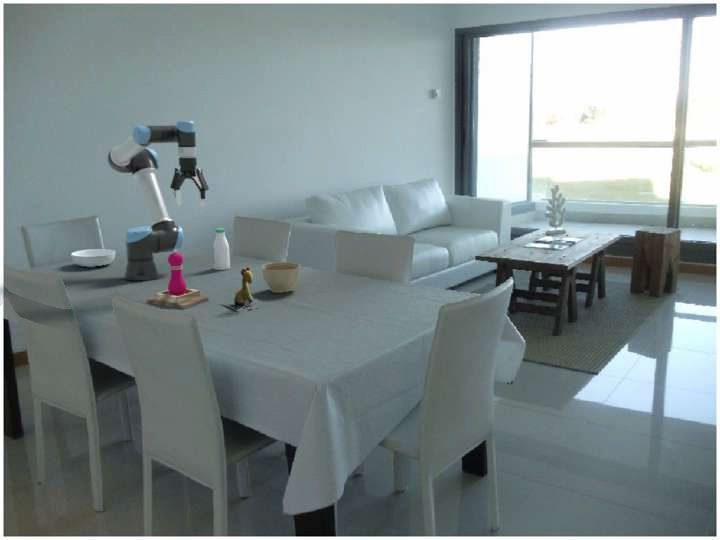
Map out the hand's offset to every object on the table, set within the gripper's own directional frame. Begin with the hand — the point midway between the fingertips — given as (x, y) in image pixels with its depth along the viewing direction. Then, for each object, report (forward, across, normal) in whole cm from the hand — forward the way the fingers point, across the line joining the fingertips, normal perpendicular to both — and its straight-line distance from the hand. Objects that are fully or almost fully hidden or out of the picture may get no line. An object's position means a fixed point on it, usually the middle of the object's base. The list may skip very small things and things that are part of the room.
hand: (190, 205), depth 300 cm
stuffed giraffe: (+35, +44, -19) cm, 60 cm away
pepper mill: (+33, +18, -29) cm, 48 cm away
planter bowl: (+35, +44, +6) cm, 57 cm away
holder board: (+35, +18, -29) cm, 49 cm away
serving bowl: (+35, -70, +3) cm, 78 cm away
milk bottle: (+35, -8, +28) cm, 45 cm away
